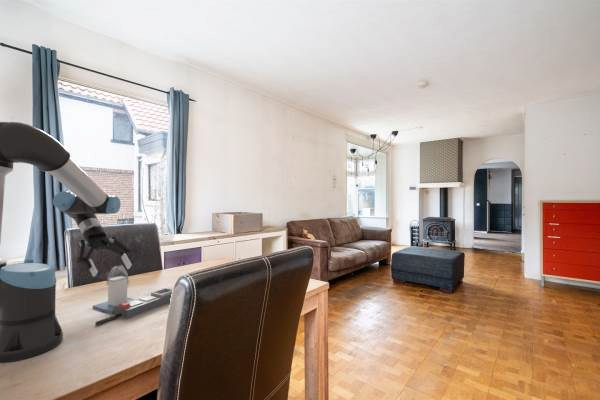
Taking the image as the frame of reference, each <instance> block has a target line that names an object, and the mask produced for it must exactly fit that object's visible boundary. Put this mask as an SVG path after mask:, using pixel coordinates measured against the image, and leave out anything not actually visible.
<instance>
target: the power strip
mask: <svg viewBox="0 0 600 400" xmlns="http://www.w3.org/2000/svg"><path fill="white" fill-rule="evenodd" d="M172 290H173V288H170V287H164V288H161V289H157V290H155V291H152V292H151V291H150V294H147V295H144V296H141V297H137V298H134V299H135V300H132V301H128V302H123V303H120V304H119V305H116V306H113V314H112V316H109V317H106V318H103V319H100V320H98V321H97V320H96V321H95V325H96V326H99V325H103V324H105V323H107V322H111V321H113V320H115V319H116V320H117V319H118V318H123V319H130V318H132V317H136V316H139V315H140V314H141V315H142V314H144V313H147V312H149V311H151V310H153V309H154V310H155V309H156V308H159V307H162V306H164V305H167V304H170V303H171V302H170V298H171V294H172Z"/></svg>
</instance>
